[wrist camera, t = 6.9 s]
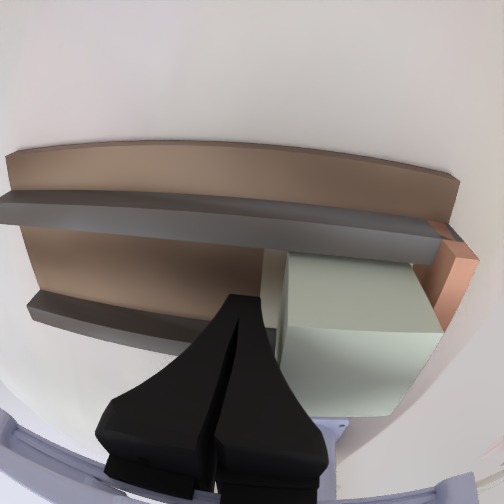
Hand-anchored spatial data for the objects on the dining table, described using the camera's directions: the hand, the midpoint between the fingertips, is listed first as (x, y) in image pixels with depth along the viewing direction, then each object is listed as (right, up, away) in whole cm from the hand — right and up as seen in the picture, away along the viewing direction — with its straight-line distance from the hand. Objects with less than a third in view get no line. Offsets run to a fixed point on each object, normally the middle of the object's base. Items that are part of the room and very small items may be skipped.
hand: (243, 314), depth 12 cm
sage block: (+4, +1, +1) cm, 4 cm away
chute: (-2, +2, +3) cm, 4 cm away
